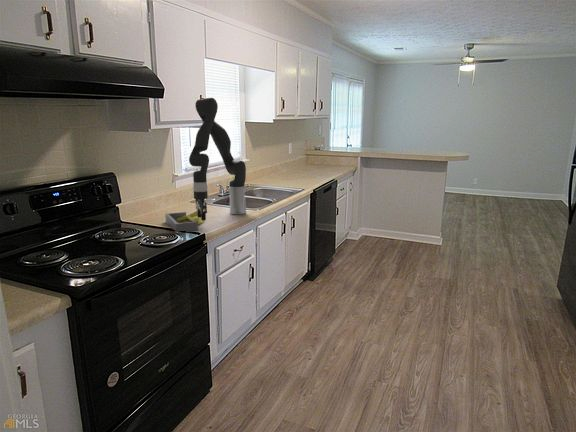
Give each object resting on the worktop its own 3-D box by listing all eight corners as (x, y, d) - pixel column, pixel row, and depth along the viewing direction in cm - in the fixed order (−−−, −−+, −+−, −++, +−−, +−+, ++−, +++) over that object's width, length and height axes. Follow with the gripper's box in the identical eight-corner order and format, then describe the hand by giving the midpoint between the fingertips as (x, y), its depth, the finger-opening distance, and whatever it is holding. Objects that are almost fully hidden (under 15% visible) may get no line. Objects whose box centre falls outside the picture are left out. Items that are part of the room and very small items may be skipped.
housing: (185, 220, 240) (185, 211, 239) (198, 231, 216) (197, 222, 215) (165, 222, 235) (165, 213, 234) (176, 233, 211) (175, 224, 210)
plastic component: (185, 216, 240) (200, 209, 238) (191, 227, 241) (205, 221, 239) (171, 221, 221) (187, 214, 219) (177, 234, 221) (193, 226, 219)
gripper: (210, 191, 221) (211, 220, 225) (203, 187, 234) (204, 215, 237) (197, 192, 218) (198, 222, 222) (190, 188, 230) (191, 216, 234)
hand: (201, 218), depth 229 cm, fingers open, 8 cm apart
